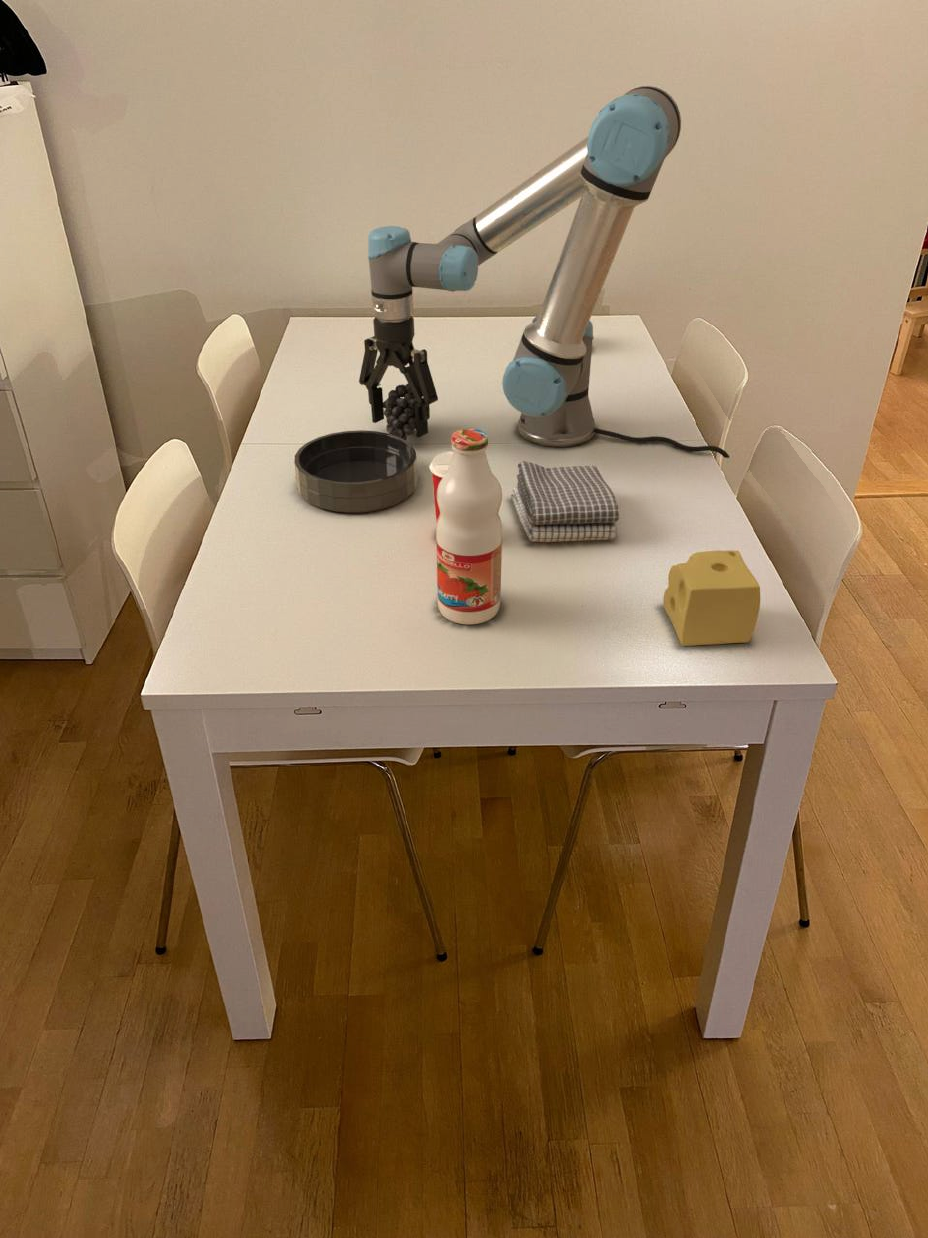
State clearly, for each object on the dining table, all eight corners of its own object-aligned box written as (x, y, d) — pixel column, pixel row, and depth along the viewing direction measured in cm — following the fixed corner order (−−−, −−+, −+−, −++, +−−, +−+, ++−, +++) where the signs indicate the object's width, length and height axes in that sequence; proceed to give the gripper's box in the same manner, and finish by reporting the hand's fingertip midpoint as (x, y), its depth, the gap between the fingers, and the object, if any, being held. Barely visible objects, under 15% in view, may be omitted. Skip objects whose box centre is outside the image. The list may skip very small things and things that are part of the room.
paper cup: (483, 529, 168) (484, 453, 160) (468, 551, 162) (469, 474, 154) (440, 521, 170) (438, 446, 162) (424, 543, 164) (421, 466, 156)
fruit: (405, 404, 185) (418, 372, 197) (365, 416, 187) (380, 384, 199) (422, 445, 189) (434, 411, 201) (383, 456, 192) (396, 423, 204)
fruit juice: (513, 608, 149) (519, 436, 132) (467, 634, 143) (468, 457, 127) (470, 583, 154) (470, 415, 138) (424, 607, 149) (419, 434, 133)
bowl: (441, 481, 182) (440, 451, 179) (360, 527, 168) (357, 496, 165) (355, 449, 193) (353, 420, 190) (272, 490, 179) (269, 460, 176)
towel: (529, 550, 162) (531, 507, 158) (509, 497, 177) (510, 457, 173) (619, 543, 164) (624, 501, 160) (592, 491, 179) (596, 451, 174)
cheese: (661, 607, 149) (669, 550, 143) (731, 604, 150) (742, 547, 144) (679, 649, 140) (688, 590, 135) (754, 645, 141) (766, 586, 135)
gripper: (333, 310, 187) (344, 419, 200) (428, 334, 175) (432, 449, 188) (361, 300, 192) (369, 407, 205) (455, 323, 180) (457, 435, 192)
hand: (399, 427), depth 196 cm, fingers closed on fruit, 11 cm apart
